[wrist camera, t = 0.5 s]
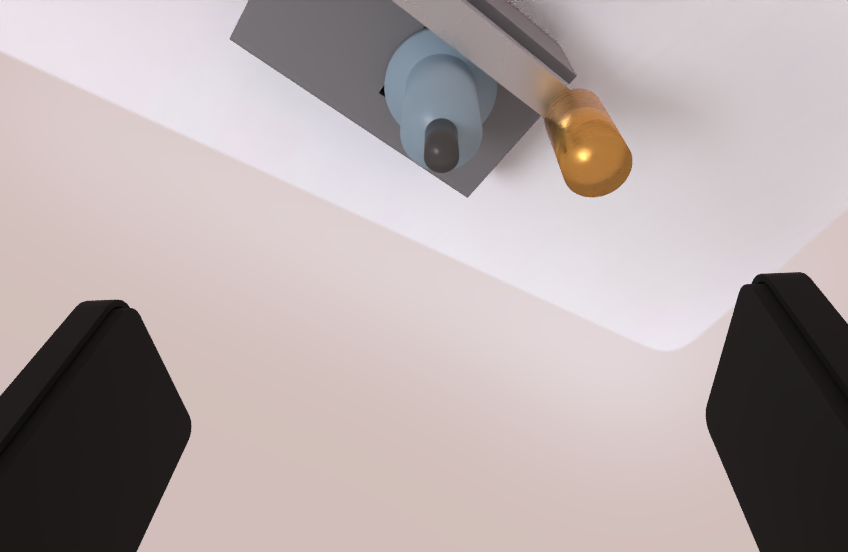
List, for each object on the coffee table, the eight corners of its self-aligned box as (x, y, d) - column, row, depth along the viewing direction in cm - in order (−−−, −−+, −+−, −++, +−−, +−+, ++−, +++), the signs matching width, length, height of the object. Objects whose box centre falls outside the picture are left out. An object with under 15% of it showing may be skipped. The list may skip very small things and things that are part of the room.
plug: (370, 72, 37) (344, 170, 27) (429, -16, 34) (426, 55, 23) (449, 128, 40) (454, 239, 29) (511, 50, 36) (542, 143, 26)
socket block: (256, 12, 37) (223, 45, 31) (335, -144, 32) (314, -138, 26) (464, 157, 43) (468, 207, 37) (559, 44, 38) (580, 83, 32)
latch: (299, -63, 28) (263, -35, 22) (332, -128, 26) (303, -115, 21) (570, 145, 34) (596, 208, 29) (610, 103, 33) (646, 161, 27)
